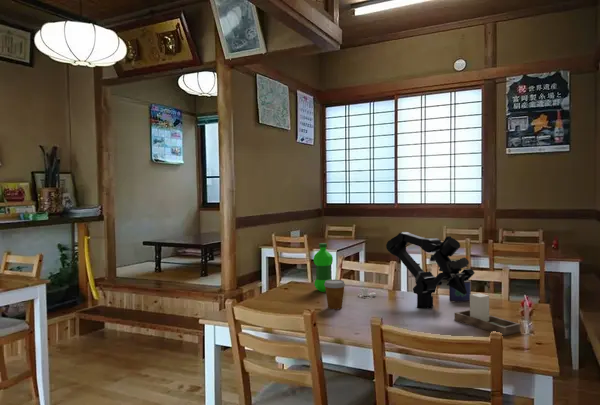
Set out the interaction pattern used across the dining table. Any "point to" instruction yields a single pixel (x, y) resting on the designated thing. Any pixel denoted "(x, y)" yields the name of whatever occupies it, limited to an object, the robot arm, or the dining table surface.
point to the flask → (457, 295)
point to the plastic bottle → (322, 267)
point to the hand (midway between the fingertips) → (465, 294)
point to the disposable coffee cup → (334, 293)
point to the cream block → (479, 306)
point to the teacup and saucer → (365, 293)
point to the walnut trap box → (489, 323)
